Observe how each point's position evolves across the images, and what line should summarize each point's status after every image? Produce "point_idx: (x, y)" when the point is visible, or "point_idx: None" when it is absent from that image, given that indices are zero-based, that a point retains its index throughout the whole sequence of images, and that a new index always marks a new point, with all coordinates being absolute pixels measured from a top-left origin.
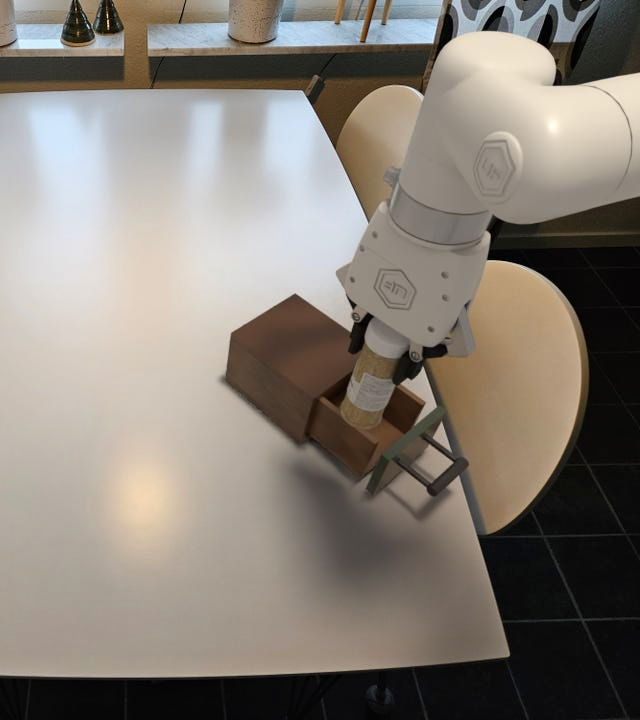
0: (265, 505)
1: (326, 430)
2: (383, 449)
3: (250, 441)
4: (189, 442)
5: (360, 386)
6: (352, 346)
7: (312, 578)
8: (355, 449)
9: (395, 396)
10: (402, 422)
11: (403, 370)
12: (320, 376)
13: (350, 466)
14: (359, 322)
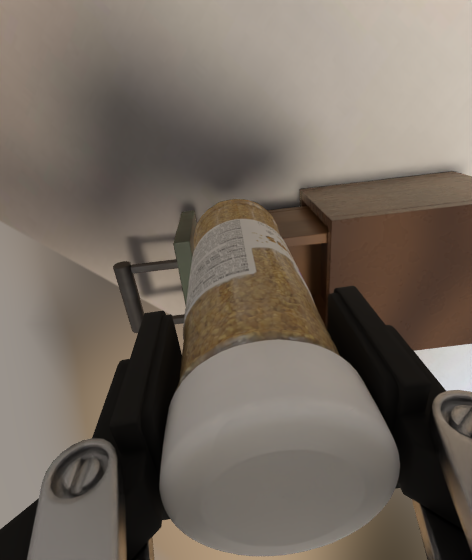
0: (255, 66)
1: (285, 219)
2: None
3: (350, 127)
4: (418, 31)
5: (244, 244)
6: (355, 305)
7: (123, 41)
8: None
9: None
10: None
11: (128, 369)
12: (356, 262)
13: None
14: (423, 400)
